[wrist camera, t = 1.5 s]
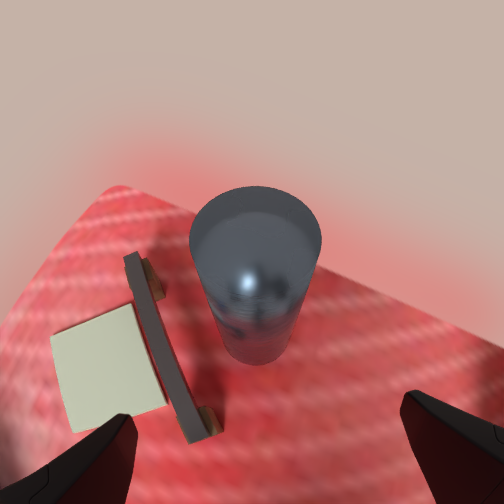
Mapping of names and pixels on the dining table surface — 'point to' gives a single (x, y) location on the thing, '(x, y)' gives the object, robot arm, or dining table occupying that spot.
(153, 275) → the posts
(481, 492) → the robot arm
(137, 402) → the mat
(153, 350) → the bar
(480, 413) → the dining table surface
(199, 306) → the dining table surface
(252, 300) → the canister
